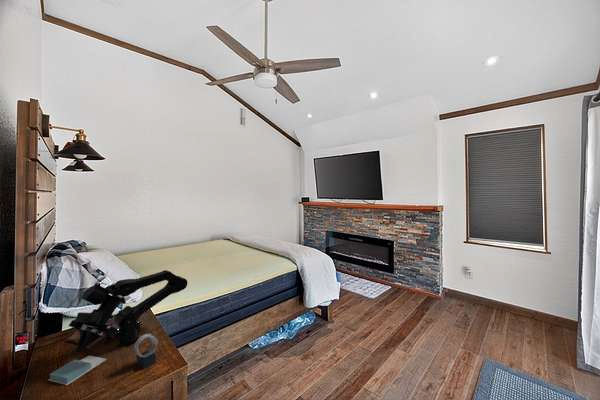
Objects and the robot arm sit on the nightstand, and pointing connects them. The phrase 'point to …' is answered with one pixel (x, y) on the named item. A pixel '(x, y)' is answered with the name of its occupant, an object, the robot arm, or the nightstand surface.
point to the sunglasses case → (76, 337)
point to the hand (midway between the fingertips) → (77, 352)
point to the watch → (146, 352)
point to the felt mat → (89, 359)
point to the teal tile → (70, 371)
